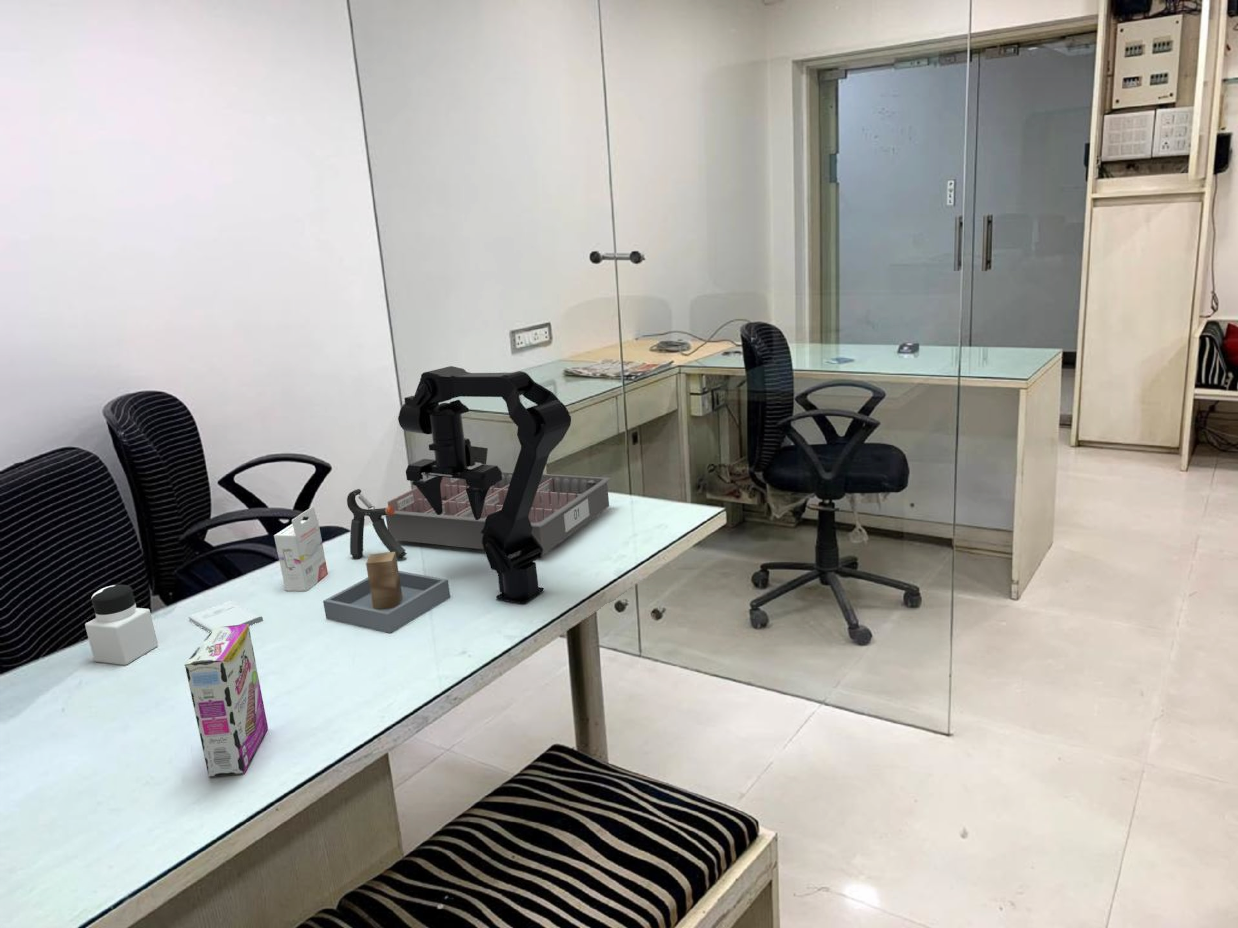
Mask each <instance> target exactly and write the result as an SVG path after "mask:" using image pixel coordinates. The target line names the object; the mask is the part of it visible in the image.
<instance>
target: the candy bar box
mask: <svg viewBox="0 0 1238 928" xmlns="http://www.w3.org/2000/svg"><path fill="white" fill-rule="evenodd" d="M252 640H253V639H252V637H251V631H250V626H249V625H248V624H245V625H233V626H225V627H215V628H214V629H213V630H212V631H211V633H208V634H207V636H206V637H205V639H204V640H203V641H202V642H201V643H200V645H199V646H198V647H197V649H195V651H194V652H193V653H192V655H191V656H190V657H189V658H188V660H187V661H185V663H184V668H185V672H186V676H187V677H186V678H187V680H188V681H187V682H188V686H189V690H190V695H191V701H192V705H193V710H194V711H193V712H194V715H195V719H196V724H197V729H198V733H199V738H200V743H201V747H202V752H203V757H204V762H205V766H206V769H207V776H208V777H209V778H218V777H225V776H226V777H227V776H236V775H237V776H238V775H244V774H245V773H246V771H247V769H248V768H249V766H250V763H251V762H252V760H253V758H254V755H255V754H256V752H257V750H258V748H259V746H260V744H261V743H262V740H263V738H264V737H265V735H266V733H267V731H268V729H269V726H268V725H269V724H268V720H267V715H266V710H265V706H264V700H263V699H264V698H263V696H262V695H263V694H262V690H261V684H260V679H259V673H258V668H257V663H256V662H257V661H256V658H255V652H254V651H255V650H254V646H253V642H252Z"/></svg>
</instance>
